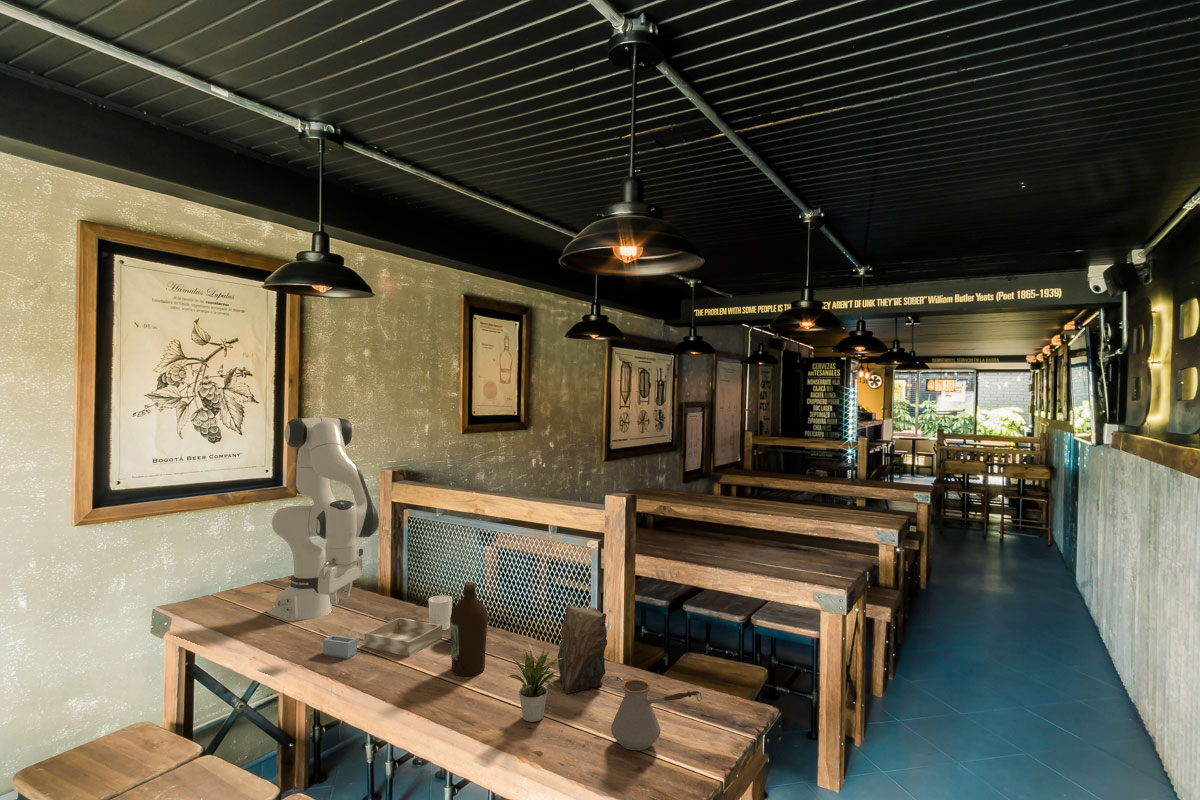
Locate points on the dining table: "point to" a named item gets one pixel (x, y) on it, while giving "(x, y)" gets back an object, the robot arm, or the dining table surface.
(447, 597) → the white cup
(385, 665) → the dining table surface
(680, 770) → the dining table surface
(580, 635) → the brown rock
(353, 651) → the box
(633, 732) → the coffee pot
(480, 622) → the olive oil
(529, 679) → the house plant
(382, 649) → the beige shallow tray
